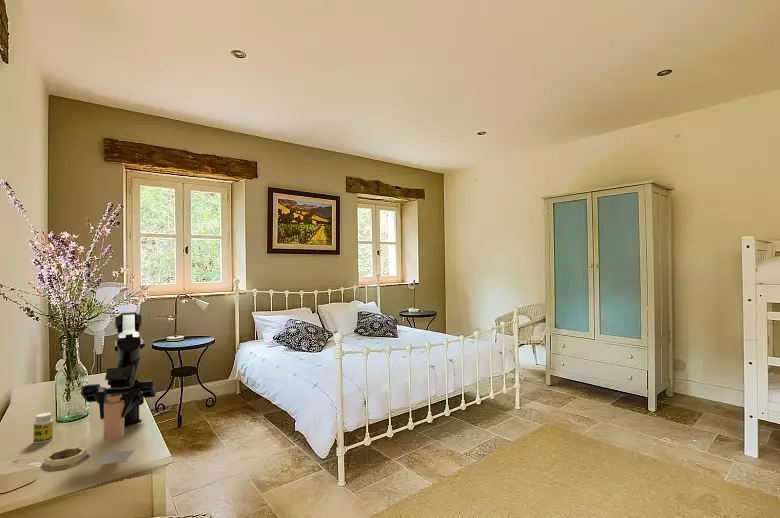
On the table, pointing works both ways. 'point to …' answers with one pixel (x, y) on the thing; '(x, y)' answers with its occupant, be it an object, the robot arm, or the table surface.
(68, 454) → the holder
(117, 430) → the vase
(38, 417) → the supplement bottle
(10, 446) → the table surface
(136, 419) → the robot arm
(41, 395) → the table surface
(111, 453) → the tile
